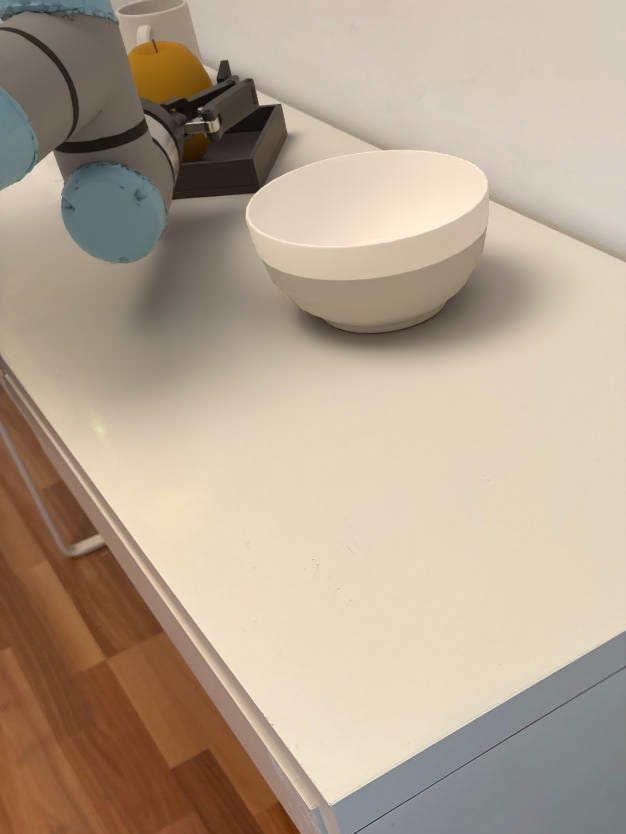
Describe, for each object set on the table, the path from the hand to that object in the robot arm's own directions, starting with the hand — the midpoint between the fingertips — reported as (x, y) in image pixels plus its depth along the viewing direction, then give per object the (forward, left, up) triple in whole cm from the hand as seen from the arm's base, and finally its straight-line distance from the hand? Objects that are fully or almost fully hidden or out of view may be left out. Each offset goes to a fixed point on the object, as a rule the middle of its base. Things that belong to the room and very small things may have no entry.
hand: (162, 83), depth 101 cm
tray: (0, +1, -9) cm, 9 cm away
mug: (-9, +28, -9) cm, 31 cm away
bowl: (+25, -34, -9) cm, 43 cm away
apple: (0, +1, -8) cm, 8 cm away
